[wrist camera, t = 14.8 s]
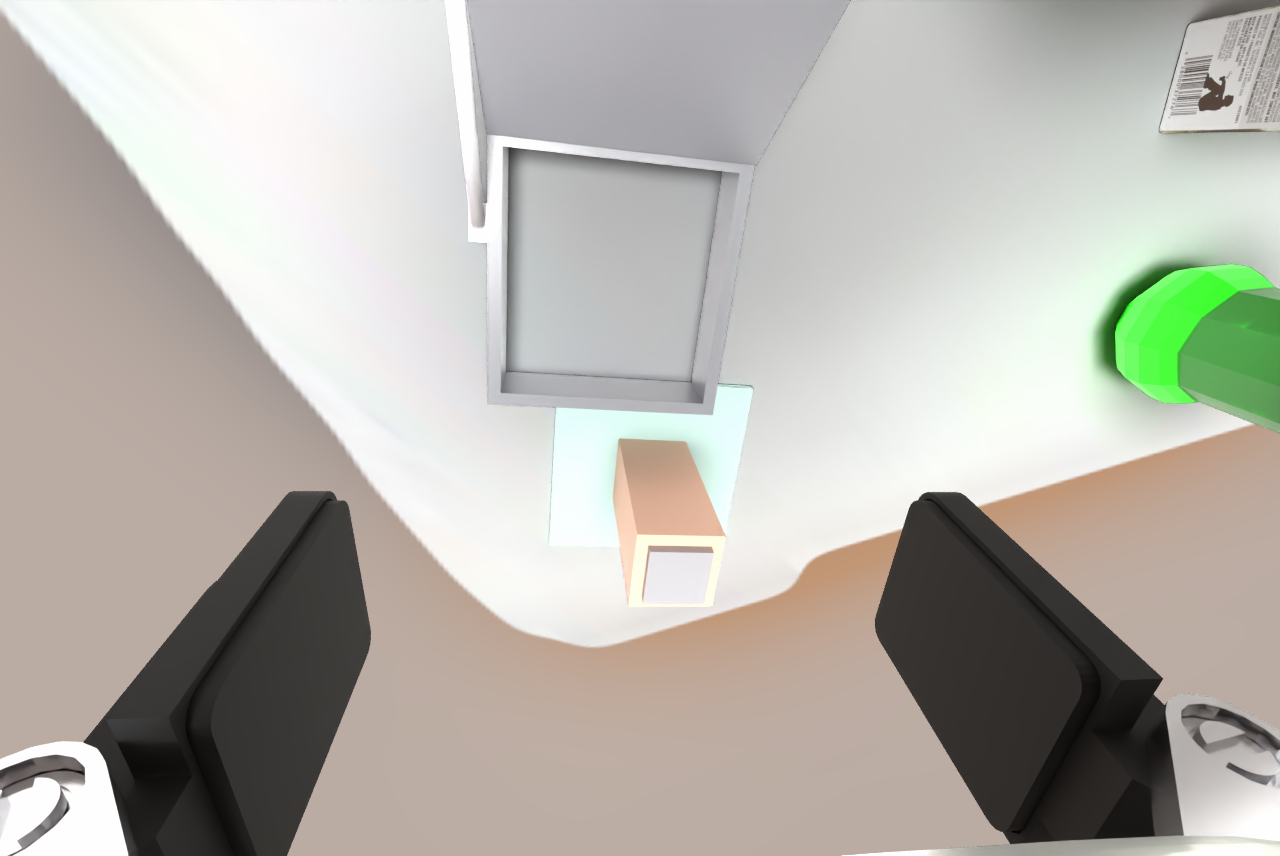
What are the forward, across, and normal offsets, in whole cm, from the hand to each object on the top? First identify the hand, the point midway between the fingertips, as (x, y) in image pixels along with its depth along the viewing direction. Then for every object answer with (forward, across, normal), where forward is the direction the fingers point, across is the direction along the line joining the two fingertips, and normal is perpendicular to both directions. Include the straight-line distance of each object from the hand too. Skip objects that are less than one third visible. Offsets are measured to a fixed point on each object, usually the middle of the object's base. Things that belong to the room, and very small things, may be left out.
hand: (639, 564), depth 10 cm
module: (+31, -5, +16) cm, 35 cm away
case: (+31, -1, -3) cm, 32 cm away
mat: (+31, -4, +16) cm, 35 cm away
